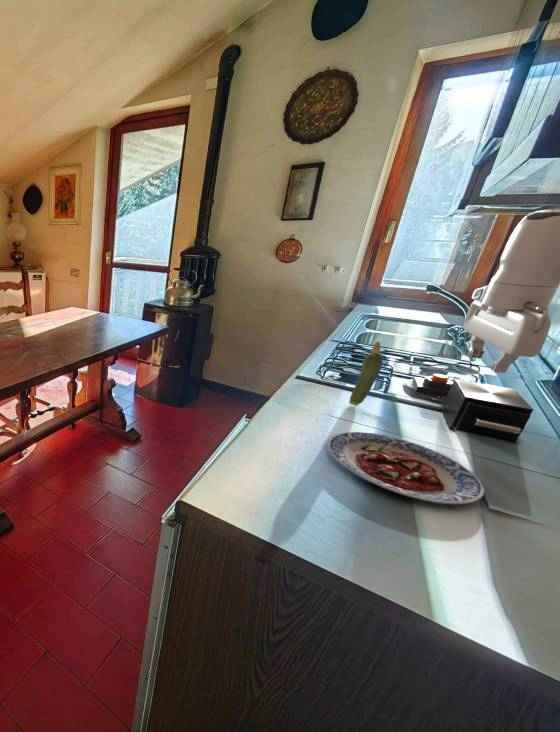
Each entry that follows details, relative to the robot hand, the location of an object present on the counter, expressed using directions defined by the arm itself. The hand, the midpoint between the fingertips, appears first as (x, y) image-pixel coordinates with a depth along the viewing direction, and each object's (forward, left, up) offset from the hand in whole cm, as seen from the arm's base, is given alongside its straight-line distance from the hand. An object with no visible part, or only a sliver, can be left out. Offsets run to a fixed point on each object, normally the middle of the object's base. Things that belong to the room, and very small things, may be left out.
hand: (485, 363), depth 82 cm
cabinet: (-9, -24, -23) cm, 34 cm away
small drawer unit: (-9, -19, -22) cm, 30 cm away
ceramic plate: (+9, +15, -23) cm, 29 cm away
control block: (-4, -47, -23) cm, 52 cm away
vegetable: (+16, -19, -23) cm, 34 cm away
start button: (-4, -47, -19) cm, 51 cm away
